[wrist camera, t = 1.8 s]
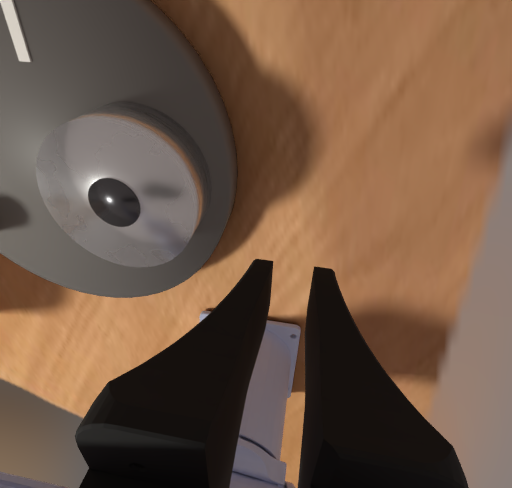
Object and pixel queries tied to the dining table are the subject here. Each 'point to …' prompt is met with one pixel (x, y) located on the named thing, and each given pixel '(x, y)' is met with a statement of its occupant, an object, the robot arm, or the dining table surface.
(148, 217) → the cover
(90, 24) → the turntable
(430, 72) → the dining table surface
